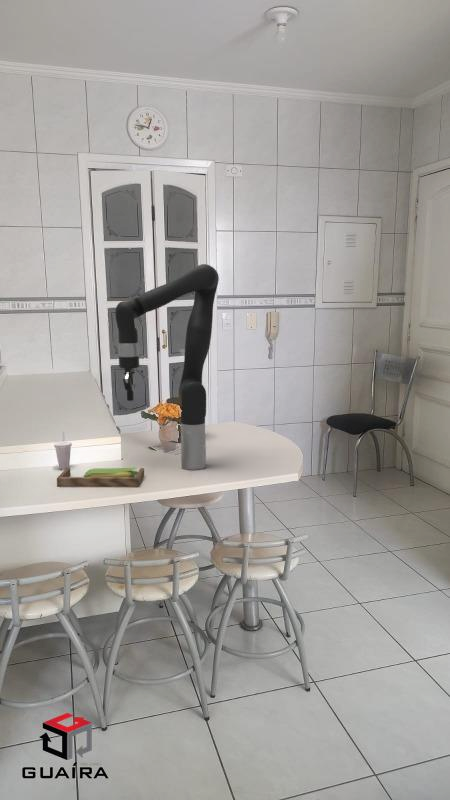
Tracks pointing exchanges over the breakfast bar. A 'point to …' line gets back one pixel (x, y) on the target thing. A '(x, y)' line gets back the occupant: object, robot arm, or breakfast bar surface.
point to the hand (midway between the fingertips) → (130, 400)
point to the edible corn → (111, 472)
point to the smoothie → (63, 453)
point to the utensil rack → (98, 480)
